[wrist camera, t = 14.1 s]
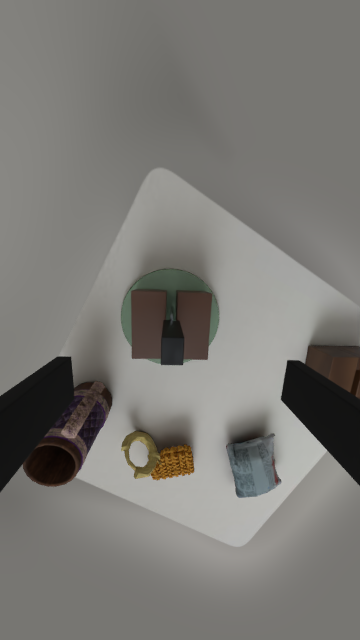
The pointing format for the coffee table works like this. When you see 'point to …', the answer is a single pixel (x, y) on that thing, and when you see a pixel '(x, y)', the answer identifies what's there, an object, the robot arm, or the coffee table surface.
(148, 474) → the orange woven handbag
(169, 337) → the knife
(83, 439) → the mug
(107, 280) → the coffee table surface
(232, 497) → the coffee table surface
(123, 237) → the coffee table surface
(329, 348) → the knife block
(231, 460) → the packaged food
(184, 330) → the green disc stand
